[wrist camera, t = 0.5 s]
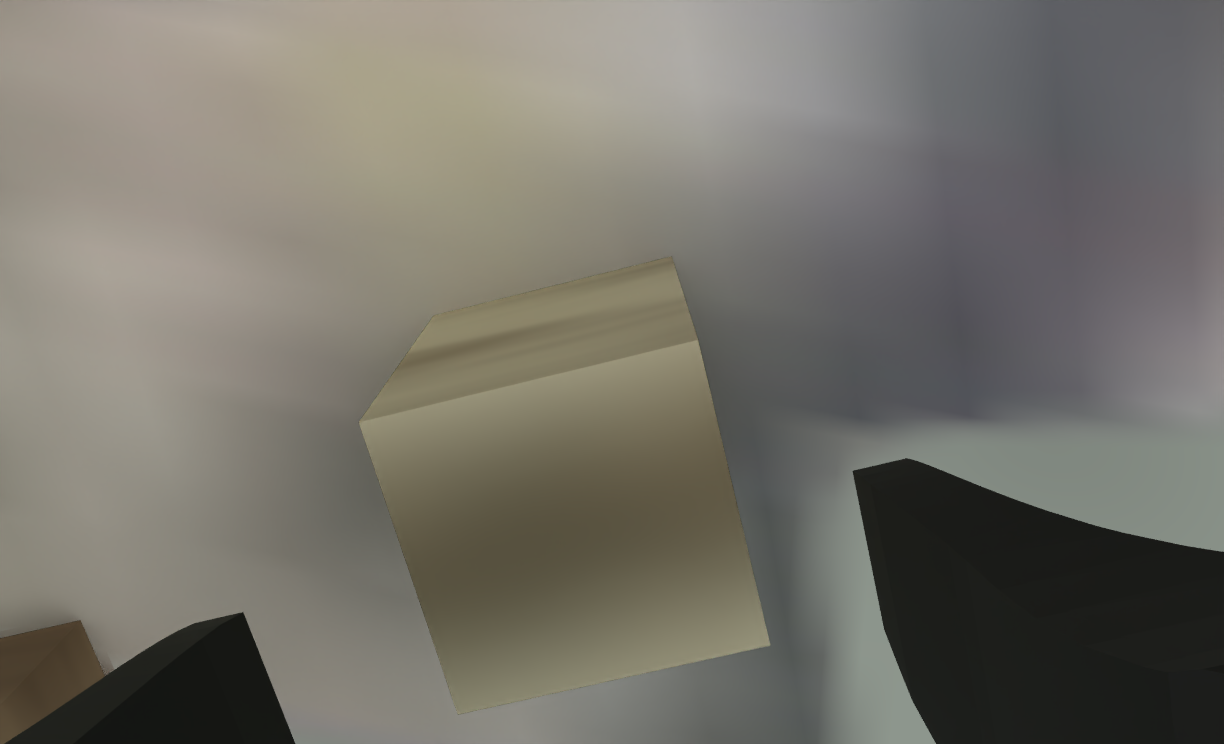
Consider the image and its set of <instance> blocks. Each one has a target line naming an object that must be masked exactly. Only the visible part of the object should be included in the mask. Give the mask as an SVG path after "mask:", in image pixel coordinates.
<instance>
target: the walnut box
mask: <svg viewBox="0 0 1224 744" xmlns="http://www.w3.org/2000/svg"><path fill="white" fill-rule="evenodd" d="M106 675H107V674H105V673H103V671H102V668H101V666H100V664H99V661H98V659H97V657H96V655H95V652H94V650H93V648H92V645H91V643H90V641H89V639H88V636H87V634H86V632H85V629H84V627H83V625H82V623H81V620H79V621H75V622H71V623H66V624H62V625H57V626H53V627H49V628H44V629H40V630H35V631H31V632H26V633H22V634H18V635H13V636H9V637H4V638H0V744H4V743H6V742H8V741H9V740H11V739H12V738H14V737H15V736H17V735H18V734H20V733H21V732H23V731H25V730H26V729H28V728H29V727H31V726H32V725H34V724H35V723H37V722H38V721H40V720H41V719H43V718H44V717H46V716H47V715H49V714H50V713H52V712H53V711H55V710H56V709H58V708H59V707H61V706H62V705H64V704H65V703H67V702H68V701H69V700H71V699H72V698H74V697H75V696H77V695H78V694H80V693H81V692H83V691H84V690H86V689H87V688H89V687H90V686H92V685H93V684H95V683H96V682H97V681H99V680H100V679H102V678H103V677H105V676H106Z"/></svg>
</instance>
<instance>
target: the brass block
mask: <svg viewBox="0 0 1224 744" xmlns="http://www.w3.org/2000/svg"><path fill="white" fill-rule="evenodd" d="M359 425H360V428H361V431H362V434H363V437H364V440H365V443H366V446H367V449H368V452H369V455H370V458H371V460H372V463H373V466H374V469H375V472H376V475H377V478H378V481H379V484H380V487H381V490H382V493H383V496H384V499H385V502H386V505H387V508H388V510H389V513H390V516H391V519H392V522H393V525H394V528H395V531H396V534H397V537H398V540H399V543H400V546H401V549H402V552H403V555H404V558H405V561H406V563H407V566H408V569H409V572H410V575H411V578H412V581H413V584H414V587H415V590H416V593H417V596H418V599H419V602H420V605H421V608H422V611H423V614H424V616H425V619H426V622H427V625H428V628H429V631H430V634H431V637H432V640H433V643H434V646H435V649H436V652H437V655H438V658H439V661H440V664H441V666H442V669H443V672H444V675H445V678H446V681H447V684H448V687H449V690H450V693H451V696H452V699H453V702H454V705H455V708H456V711H457V714H458V715H459V714H463V713H468V712H472V711H477V710H481V709H486V708H490V707H495V706H500V705H504V704H509V703H513V702H518V701H522V700H527V699H531V698H536V697H540V696H545V695H549V694H554V693H558V692H563V691H567V690H572V689H576V688H581V687H585V686H590V685H594V684H599V683H603V682H608V681H612V680H617V679H621V678H626V677H630V676H635V675H639V674H644V673H648V672H653V671H657V670H662V669H666V668H671V667H675V666H680V665H684V664H689V663H693V662H698V661H702V660H707V659H712V658H716V657H721V656H725V655H730V654H734V653H739V652H743V651H748V650H752V649H757V648H761V647H766V646H770V642H769V637H768V633H767V629H766V625H765V621H764V616H763V612H762V608H761V604H760V599H759V595H758V591H757V587H756V583H755V578H754V574H753V570H752V566H751V561H750V557H749V553H748V549H747V544H746V540H745V536H744V532H743V528H742V523H741V519H740V515H739V511H738V506H737V502H736V498H735V494H734V489H733V485H732V481H731V477H730V473H729V468H728V464H727V460H726V456H725V451H724V447H723V443H722V439H721V435H720V430H719V426H718V422H717V418H716V413H715V409H714V405H713V401H712V396H711V392H710V388H709V384H708V380H707V375H706V371H705V367H704V363H703V358H702V354H701V350H700V346H699V341H698V338H697V335H696V332H695V329H694V325H693V322H692V319H691V316H690V313H689V310H688V307H687V303H686V300H685V297H684V294H683V291H682V288H681V285H680V281H679V278H678V275H677V272H676V269H675V266H674V263H673V259H672V256H671V257H667V258H663V259H659V260H655V261H651V262H647V263H643V264H639V265H635V266H631V267H627V268H623V269H619V270H615V271H611V272H607V273H603V274H599V275H595V276H591V277H587V278H583V279H579V280H575V281H571V282H567V283H563V284H559V285H555V286H551V287H547V288H543V289H539V290H535V291H531V292H527V293H523V294H519V295H515V296H510V297H506V298H502V299H498V300H494V301H490V302H486V303H482V304H478V305H474V306H470V307H466V308H462V309H458V310H454V311H450V312H446V313H442V314H438V315H434V316H433V317H432V319H431V320H430V322H429V323H428V324H427V326H426V327H425V329H424V330H423V331H422V333H421V334H420V336H419V337H418V339H417V340H416V341H415V343H414V344H413V346H412V347H411V349H410V350H409V351H408V353H407V354H406V356H405V357H404V359H403V360H402V361H401V363H400V364H399V366H398V367H397V368H396V370H395V371H394V373H393V374H392V376H391V377H390V378H389V380H388V381H387V383H386V384H385V386H384V387H383V388H382V390H381V391H380V393H379V394H378V396H377V397H376V398H375V400H374V401H373V403H372V404H371V405H370V407H369V408H368V410H367V411H366V413H365V414H364V415H363V417H362V418H361V420H360V421H359Z"/></svg>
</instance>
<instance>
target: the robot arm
mask: <svg viewBox="0 0 1224 744" xmlns="http://www.w3.org/2000/svg"><path fill="white" fill-rule="evenodd" d="M853 475H854V480H855V485H856V490H857V495H858V500H859V505H860V510H861V515H862V520H863V525H864V530H865V535H866V541H867V546H868V550H869V556H870V561H871V565H872V570H873V576H874V581H875V586H876V591H877V596H878V601H879V605H880V611H881V616H882V621H883V626H884V630H885V632H886V635H887V638H888V640H889V643H890V645H891V648H892V651H893V653H894V656H895V658H896V661H897V664H898V666H899V669H900V671H901V674H902V676H903V679H904V681H905V683H906V686H907V688H908V691H909V693H910V696H911V698H912V700H913V703H914V704H915V706H916V708H917V710H918V711H919V714H920V715H921V717H922V719H923V721H924V723H925V725H926V726H927V728H928V730H929V732H930V733H931V735H932V737H933V739H934V741H935V742H936V744H1224V552H1219V551H1213V550H1207V549H1201V548H1195V547H1188V546H1183V545H1178V544H1173V543H1168V542H1164V541H1159V540H1154V539H1149V538H1145V537H1140V536H1135V535H1131V534H1126V533H1121V532H1118V531H1114V530H1110V529H1106V528H1102V527H1099V526H1095V525H1091V524H1088V523H1085V522H1082V521H1078V520H1075V519H1072V518H1068V517H1065V516H1062V515H1059V514H1056V513H1052V512H1049V511H1046V510H1043V509H1040V508H1037V507H1034V506H1032V505H1029V504H1026V503H1023V502H1020V501H1017V500H1015V499H1012V498H1009V497H1007V496H1004V495H1001V494H999V493H996V492H994V491H991V490H989V489H986V488H983V487H981V486H978V485H976V484H973V483H971V482H969V481H966V480H963V479H961V478H959V477H956V476H954V475H951V474H949V473H947V472H944V471H942V470H939V469H937V468H934V467H932V466H929V465H926V464H924V463H921V462H918V461H915V460H911V459H907V458H906V459H902V460H898V461H893V462H889V463H885V464H880V465H876V466H872V467H867V468H863V469H859V470H854V471H853ZM4 744H295V742H294V739H293V737H292V734H291V732H290V729H289V727H288V724H287V722H286V719H285V717H284V714H283V712H282V709H281V707H280V704H279V702H278V699H277V696H276V694H275V691H274V689H273V686H272V684H271V681H270V679H269V676H268V674H267V671H266V669H265V666H264V664H263V661H262V659H261V656H260V654H259V651H258V649H257V646H256V643H255V641H254V638H253V636H252V633H251V631H250V628H249V626H248V623H247V621H246V618H245V616H244V613H243V612H242V613H238V614H233V615H229V616H225V617H220V618H216V619H212V620H207V621H203V622H199V623H194V624H192V625H190V626H188V627H186V628H183V629H181V630H179V631H177V632H175V633H173V634H171V635H170V636H168V637H166V638H164V639H163V640H161V641H159V642H157V643H156V644H154V645H153V646H151V647H149V648H148V649H146V650H144V651H143V652H141V653H140V654H138V655H137V656H135V657H134V658H132V659H130V660H129V661H127V662H126V663H124V664H123V665H121V666H120V667H118V668H117V669H115V670H114V671H112V672H111V673H109V674H108V675H106V676H105V677H103V678H102V679H100V680H99V681H97V682H96V683H95V684H93V685H92V686H90V687H89V688H87V689H86V690H84V691H83V692H81V693H80V694H78V695H77V696H75V697H74V698H72V699H71V700H69V701H68V702H67V703H65V704H64V705H62V706H61V707H59V708H58V709H56V710H55V711H53V712H52V713H50V714H49V715H47V716H46V717H44V718H43V719H41V720H40V721H38V722H37V723H35V724H34V725H32V726H31V727H29V728H28V729H26V730H25V731H23V732H21V733H20V734H18V735H17V736H15V737H14V738H12V739H11V740H9V741H8V742H6V743H4Z"/></svg>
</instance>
